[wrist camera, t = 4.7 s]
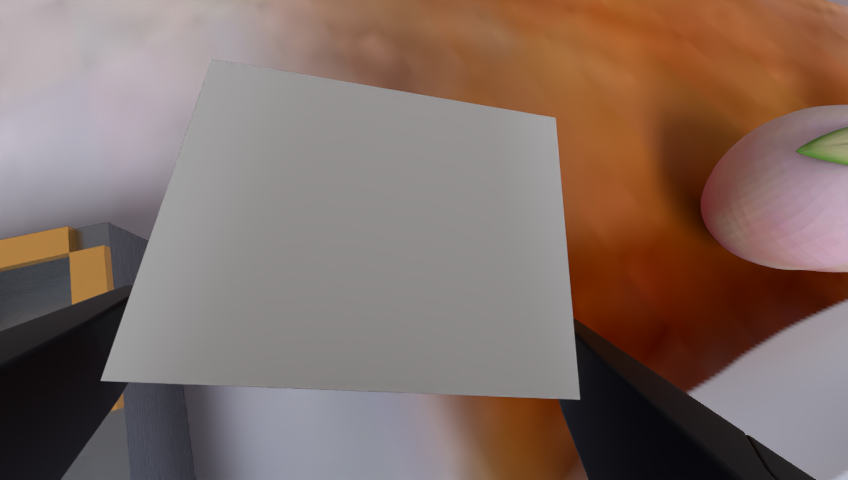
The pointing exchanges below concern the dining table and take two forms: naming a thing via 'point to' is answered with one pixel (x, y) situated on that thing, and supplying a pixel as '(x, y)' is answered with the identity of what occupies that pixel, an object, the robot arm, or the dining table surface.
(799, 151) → the decorative fruit
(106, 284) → the rack
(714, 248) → the dining table surface
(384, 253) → the light grey block
